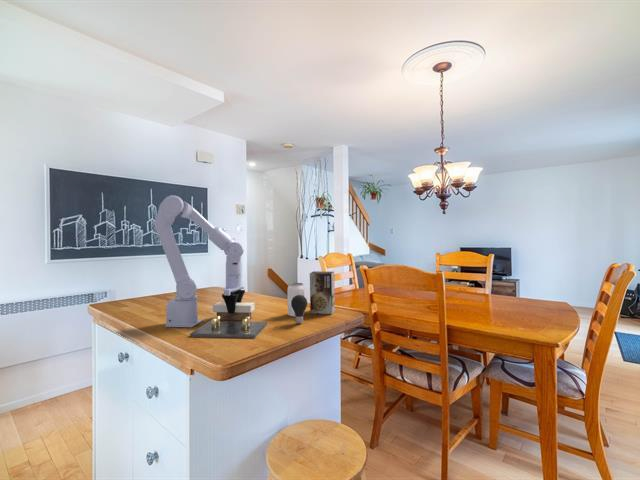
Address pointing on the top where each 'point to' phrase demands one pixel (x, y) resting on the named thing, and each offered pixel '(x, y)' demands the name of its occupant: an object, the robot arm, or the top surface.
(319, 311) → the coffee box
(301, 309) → the light bulb
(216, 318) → the plate
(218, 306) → the board
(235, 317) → the brown rectangular block
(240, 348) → the top surface
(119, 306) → the top surface
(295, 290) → the can
